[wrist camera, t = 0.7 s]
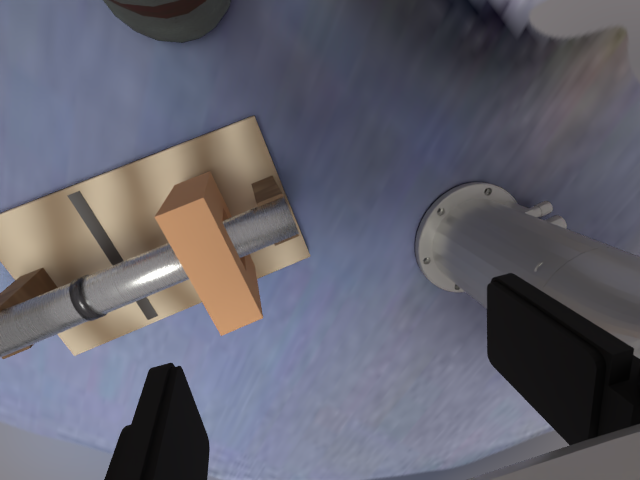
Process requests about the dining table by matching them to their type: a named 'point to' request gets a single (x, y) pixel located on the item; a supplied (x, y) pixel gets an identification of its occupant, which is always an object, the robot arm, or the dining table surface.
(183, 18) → the bottle
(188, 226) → the collar
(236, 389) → the dining table surface
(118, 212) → the pipe stand
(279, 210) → the pipe
